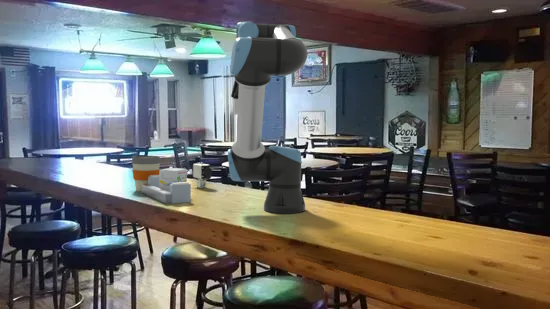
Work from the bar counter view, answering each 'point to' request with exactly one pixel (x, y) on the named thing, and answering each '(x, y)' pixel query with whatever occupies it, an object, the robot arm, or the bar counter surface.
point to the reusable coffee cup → (144, 169)
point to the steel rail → (157, 193)
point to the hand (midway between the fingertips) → (244, 114)
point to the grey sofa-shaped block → (174, 189)
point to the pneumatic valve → (201, 173)
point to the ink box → (171, 177)
